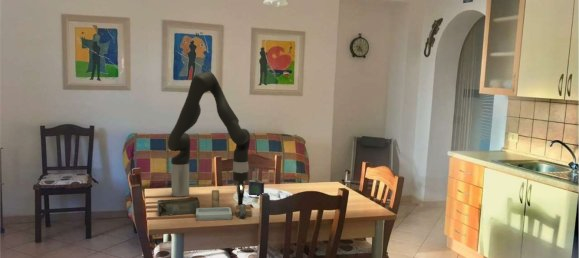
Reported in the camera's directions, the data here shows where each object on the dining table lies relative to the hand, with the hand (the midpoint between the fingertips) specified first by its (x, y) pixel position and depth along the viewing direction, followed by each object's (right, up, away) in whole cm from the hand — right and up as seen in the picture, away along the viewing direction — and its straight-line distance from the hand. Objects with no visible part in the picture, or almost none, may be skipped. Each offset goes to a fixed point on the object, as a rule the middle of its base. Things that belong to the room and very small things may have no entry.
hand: (240, 204), depth 230 cm
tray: (-11, -3, -12) cm, 17 cm away
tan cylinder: (-12, -2, 0) cm, 12 cm away
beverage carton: (-29, -3, -7) cm, 29 cm away
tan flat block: (+2, -3, -6) cm, 8 cm away
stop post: (+2, -4, -13) cm, 14 cm away
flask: (+6, 0, +21) cm, 22 cm away
